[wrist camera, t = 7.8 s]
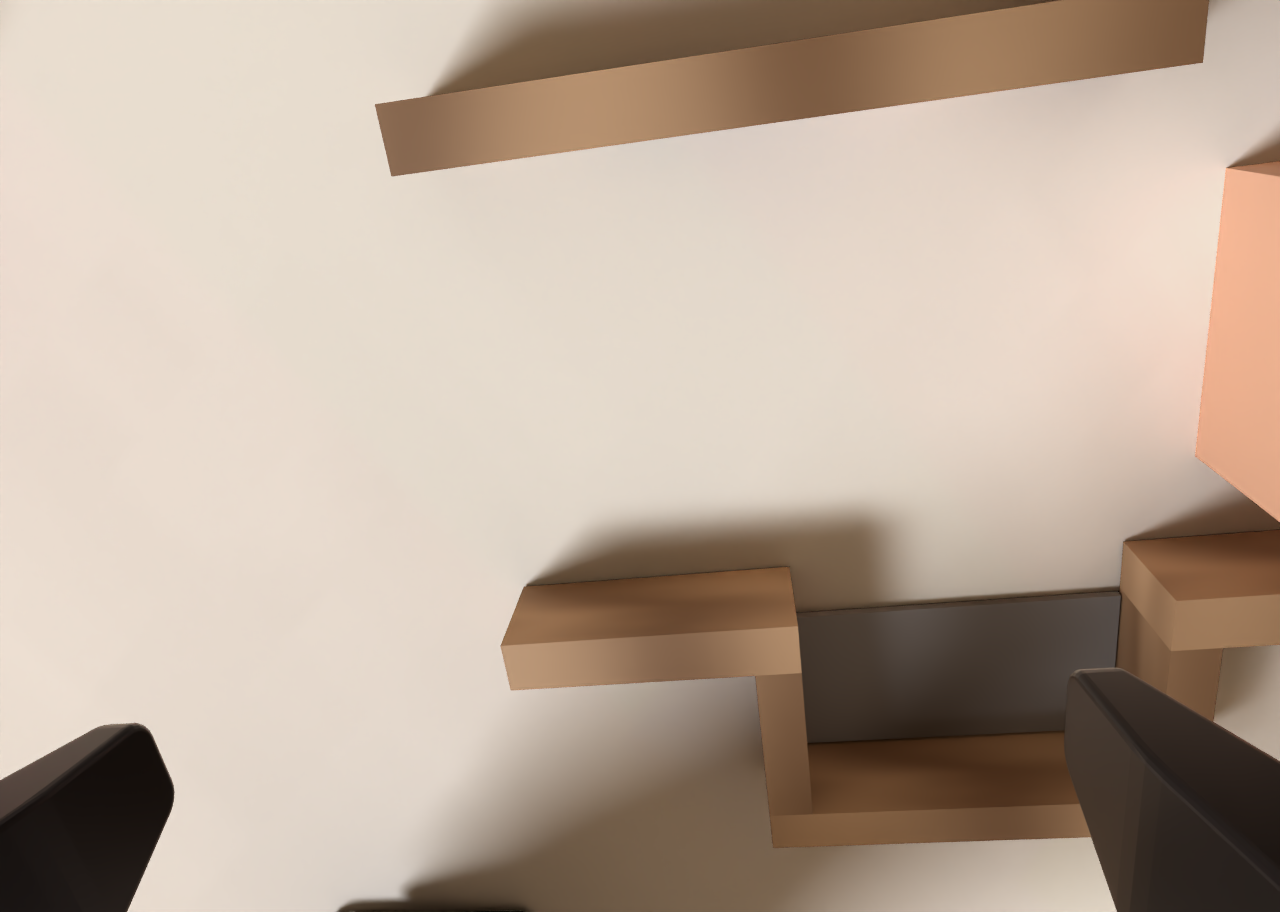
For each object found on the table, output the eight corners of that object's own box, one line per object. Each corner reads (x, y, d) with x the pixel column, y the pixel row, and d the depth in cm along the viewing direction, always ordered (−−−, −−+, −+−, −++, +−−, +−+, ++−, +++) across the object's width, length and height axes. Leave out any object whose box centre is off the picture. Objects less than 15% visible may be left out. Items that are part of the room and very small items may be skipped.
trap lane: (565, 781, 24) (541, 889, 21) (356, -199, 16) (260, -274, 12) (1511, 739, 21) (1655, 857, 18) (1883, -504, 13) (2282, -707, 9)
